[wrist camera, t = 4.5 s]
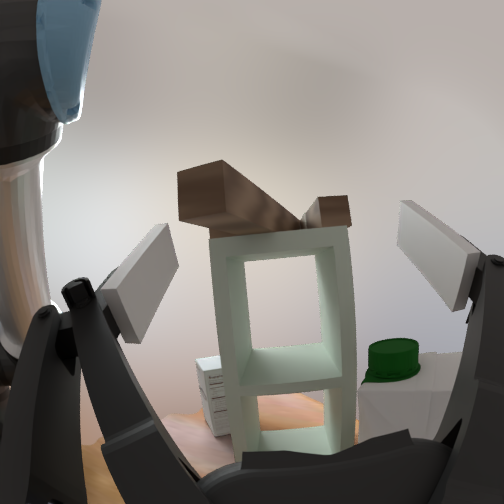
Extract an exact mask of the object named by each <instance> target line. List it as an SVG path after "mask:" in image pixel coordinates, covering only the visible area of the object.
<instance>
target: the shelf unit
mask: <svg viewBox="0 0 504 504" xmlns="http://www.w3.org/2000/svg"><path fill="white" fill-rule="evenodd" d="M209 250H210V262H211V274H212V285H213V295H214V305H215V316H216V325H217V334H218V342H219V351H220V360H221V368H222V375H223V383H224V391H225V398H226V405H227V412H228V419H229V425H230V432H231V438H232V444H233V450H234V456H235V462H240V461H242V452H254V451H280V450H287V451H294V452H302V453H311V454H321V455H331V454H335V453H337V452H340V451H342V450H345V449H347V448H350V447H352V446H354V437H355V420H356V392H357V391H356V390H357V352H356V321H355V303H354V288H353V276H352V266H351V255H350V246H349V238H348V230H347V225H345V226H334V227H323V228H312V229H302V230H291V231H281V232H271V233H261V234H251V235H242V236H232V237H223V238H214V239H209ZM307 255H315V261H316V271H317V283H318V295H319V306H320V322H321V339H322V342H321V343H312V344H305V345H295V346H283V347H273V348H258V349H252V343H251V334H250V333H251V332H250V321H249V312H248V300H247V289H246V280H245V279H246V278H245V268H244V262H246V261H256V260H266V259H277V258H286V257H297V256H307ZM318 390H323V391H324V426H317V427H308V428H299V429H288V430H273V431H260V421H259V412H258V402H257V396H263V395H278V394H290V393H301V392H310V391H318Z"/></svg>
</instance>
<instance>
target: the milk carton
mask: <svg viewBox="0 0 504 504" xmlns="http://www.w3.org/2000/svg"><path fill="white" fill-rule="evenodd" d="M461 357H462V352H457V353H443V354H437V353H436V352H430V353H424V354H419V344H418V342H417V341H416V340H413V339H408V338H393V339H385V340H381V341H377V342H375V343H373V344H371V345H370V346H369V349H368V367H369V368H368V369H367V371H366V374H365V379H364V380H363V381H362V383H361V386H360V388H359V389H358V391H357V392H358V404H359V435H358V444H359V443H361V442H363V441H366V440H368V439H370V438H373V437H377V436H382V435H386V434H390V433H394V432H397V431H401V430H404V429H409V433H410V436H411V438H423V439H429V440H433V439H434V437H435V436H436V434H437V432H438V429H439V427H440V424H441V422H442V419H443V416H444V414H445V411H446V408H447V405H448V402H449V399H450V396H451V393H452V390H453V386H454V383H455V380H456V376H457V372H458V369H459V365H460V361H461Z"/></svg>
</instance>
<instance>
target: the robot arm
mask: <svg viewBox="0 0 504 504" xmlns="http://www.w3.org/2000/svg"><path fill="white" fill-rule="evenodd" d="M100 6H101V0H0V504H88V503H87V494H86V487H85V480H84V472H83V462H82V450H81V434H80V379H81V378H80V377H81V368H82V372H83V376H84V380H85V383H86V387H87V390H88V393H89V397H90V400H91V403H92V406H93V409H94V412H95V415H96V418H97V421H98V423H99V426H100V429H101V431H102V434H103V437H104V439H105V444H102V445H101V451H102V454H103V457H104V459H105V462H106V464H107V466H108V469H109V471H110V473H111V475H112V477H113V480H114V482H115V484H116V486H117V488H118V490H119V492H120V494H121V496H122V498H123V500H124V502H125V503H126V504H504V258H503V257H501V256H498V255H488V256H486V255H485V254H484V253H482V252H481V251H480V250H479V249H478V248H476V247H475V246H474V245H473V244H472V243H471V242H469V241H468V240H467V239H465V238H464V237H463V236H461V235H459V234H457V233H456V232H455V231H454V230H452V229H451V228H450V227H448V226H447V225H446V224H444V223H443V222H442V221H440V220H439V219H438V218H436V217H435V216H433V215H432V214H431V213H429V212H428V211H426V210H425V209H423V208H422V207H421V206H419V205H417V204H416V203H415V202H413V201H411V200H406V201H400V212H399V228H398V240H397V246H398V247H399V248H400V249H401V250H402V251H403V252H404V253H405V255H406V256H407V257H408V258H409V259H410V260H411V261H412V263H413V264H414V265H415V266H416V267H417V268H418V270H419V271H420V272H421V273H422V274H423V276H424V277H425V278H426V279H427V281H428V282H429V283H430V284H431V285H432V287H433V288H434V289H435V290H436V292H437V293H438V294H439V296H440V297H441V298H442V299H443V301H444V302H445V303H446V304H447V306H448V307H449V309H450V310H451V311H452V312H454V311H458V310H462V309H465V306H466V304H467V300H468V297H469V298H470V299H471V300H472V301H473V303H472V306H471V310H470V312H469V315H468V318H467V321H466V323H468V328H467V334H466V339H465V343H464V348H463V352H462V357H461V361H460V365H459V369H458V372H457V376H456V380H455V383H454V386H453V390H452V393H451V396H450V399H449V402H448V405H447V408H446V411H445V414H444V416H443V419H442V422H441V424H440V427H439V429H438V432H437V434H436V436H435V437H434V439H433V440H429V439H423V438H411V436H410V433H409V429H404V430H401V431H397V432H394V433H390V434H386V435H382V436H377V437H373V438H370V439H368V440H366V441H363V442H361V443H359V444H357V445H354V446H352V447H350V448H347V449H345V450H342V451H340V452H337V453H335V454H331V455H321V454H311V453H302V452H294V451H287V450H280V451H254V452H242V461H240V462H236V463H232V464H229V465H226V466H223V467H221V468H219V469H216V470H215V471H213V472H211V473H209V474H207V475H206V476H204V477H203V478H201V477H200V476H199V474H198V473H197V472H196V471H195V470H194V468H193V467H192V466H191V465H190V463H189V462H188V461H187V459H186V458H185V457H184V455H183V454H182V452H181V451H180V449H179V448H178V447H177V445H176V444H175V442H174V441H173V439H172V438H171V436H170V435H169V433H168V432H167V430H166V428H165V427H164V425H163V424H162V422H161V421H160V419H159V417H158V416H157V414H156V413H155V411H154V409H153V407H152V406H151V404H150V402H149V400H148V399H147V397H146V395H145V393H144V392H143V390H142V388H141V386H140V384H139V383H138V381H137V379H136V377H135V375H134V373H133V371H132V369H131V367H130V365H129V363H128V361H127V359H126V357H125V355H124V353H123V351H122V349H121V347H120V344H119V343H118V341H117V338H118V335H119V334H120V333H121V335H122V337H123V339H124V341H125V343H136V344H141V342H142V339H143V338H144V335H145V333H146V331H147V329H148V327H149V325H150V322H151V321H152V319H153V317H154V315H155V312H156V310H157V308H158V306H159V304H160V302H161V300H162V298H163V296H164V294H165V292H166V290H167V288H168V286H169V284H170V282H171V280H172V279H173V277H174V275H175V273H176V271H177V269H178V267H179V265H178V261H177V257H176V253H175V249H174V245H173V242H172V238H171V234H170V230H169V225H168V223H165V224H158V225H155V226H154V227H153V228H152V229H151V231H150V232H149V233H148V234H147V235H146V236H145V237H144V238H143V239H142V241H141V242H140V243H139V244H138V245H137V246H136V247H135V249H134V250H133V251H132V252H131V253H130V254H129V255H128V257H127V258H126V259H125V260H124V261H123V262H122V264H121V265H120V266H119V267H117V268H116V269H115V270H113V271H112V272H111V273H110V274H109V275H108V277H107V279H105V280H104V281H103V283H102V284H101V285H100V286H99V287H98V289H97V290H96V291H95V292H94V290H93V288H92V285H91V283H90V281H89V279H88V278H85V277H82V278H78V279H75V280H73V281H71V282H69V283H68V284H66V285H65V286H64V287H63V289H62V291H61V293H62V295H63V297H64V299H65V301H66V303H67V306H68V308H69V310H70V311H68V312H64V313H63V312H61V311H60V309H59V307H58V306H57V305H56V304H55V303H54V302H53V301H52V300H51V298H50V292H49V286H48V279H47V271H46V262H45V253H44V241H43V223H42V176H43V159H44V157H45V156H46V155H47V154H48V153H49V152H50V151H51V150H52V149H54V147H56V146H57V145H58V143H59V142H60V140H61V136H62V130H63V124H69V123H70V122H73V121H76V120H78V119H79V118H80V116H81V111H82V105H83V97H84V88H85V82H86V76H87V70H88V64H89V59H90V53H91V48H92V43H93V38H94V33H95V29H96V24H97V20H98V15H99V11H100ZM9 386H11V389H9Z"/></svg>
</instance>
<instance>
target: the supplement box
mask: <svg viewBox="0 0 504 504" xmlns="http://www.w3.org/2000/svg"><path fill="white" fill-rule="evenodd" d="M195 361H196V368H197V375H198V381H199V388H200V394H201V400H202V406H203V412H204V417H205V420H206V422H207V423H208V425H209V427H210V429H211V431H212V433H213V435H214V437H217V436H223V435H227V434H231V432H230V425H229V419H228V412H227V405H226V398H225V391H224V383H223V375H222V368H221V360H220V355H219V356H212V357H206V358H199V359H195Z"/></svg>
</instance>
